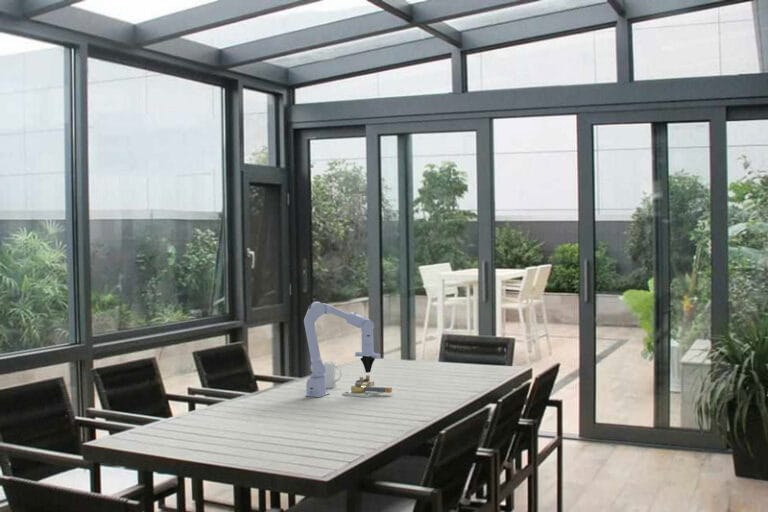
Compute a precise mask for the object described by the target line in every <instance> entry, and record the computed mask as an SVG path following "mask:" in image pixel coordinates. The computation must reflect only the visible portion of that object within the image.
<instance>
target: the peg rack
mask: <svg viewBox="0 0 768 512" xmlns="http://www.w3.org/2000/svg"><path fill="white" fill-rule="evenodd" d="M370 378H371V377H370V375H369V374H366V375H365V378H364V376H359V379H358V380H355V383H361V385H364V386H366V387H369V386H370V387H374V385H375V380H370Z"/></svg>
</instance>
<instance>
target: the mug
mask: <svg viewBox="0 0 768 512" xmlns="http://www.w3.org/2000/svg"><path fill="white" fill-rule="evenodd" d="M322 363H323V365H324V366H325V369H326V370H325V373H324V374H325V375H326V389H334V388H336V387H337V382H339V381H340V380H341V377H342V374H343V373H342V370H341V369H340V367H339V366H337V365H336V362H334V361H322ZM336 369H338V371H339V373H340V375H339V378H337V373H336Z"/></svg>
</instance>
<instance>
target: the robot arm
mask: <svg viewBox="0 0 768 512" xmlns="http://www.w3.org/2000/svg"><path fill="white" fill-rule="evenodd" d="M324 314H325V315H329V314H332V315H334V316H337V317H339V318H342V319H344V320H346V324H349V325H350V326H354V327H355V328H358V329H361V337H360V339H361V351H355V353H354V354H355V355H354V356H355V357H360V361H361V362H362V364H363V367H364V372H365V373H366V374H367V373H371V372H372V366H373V365H374V361H375V360H376V359H381V358H382V357H381V353H377V352H375V351H374V347H375V345H374V329H375V324H374V322H373V320H371V319H369V318H367V317H366V316H363V315H360V314H358V312H356V311H354V312H353V311H351V312H349V313H348V312H346V311H344V310H343V309H339V308H337V307H335V306H333V305H331V304H328V303H324V302H320V301H317V300H316V301H313V302H311V304H310V305H309V306H308V308H307V311H306V313H305V316H304V319H303V323H304V324H303V325H304V328H305V329H304V330H305V335H306V341H307V345H308V350H309V355H310V366H309V367H310V368H309V369H310V372H311V373H310V377H309V379H307V380H306V384H305V385H306V394H304V396H305V397H313V398H320V397H323V396H327V395H330V392H327V388H326V375H325V374H324V373H325V370H326V369H325V366H324V365H323V363H322V362H323V360H322V357H321V352H320V347H319V346H320V345H319V342H318V337H317V332H316V327H315V323H316V322H317V320H319V318H320V317H322V316H323V315H324Z"/></svg>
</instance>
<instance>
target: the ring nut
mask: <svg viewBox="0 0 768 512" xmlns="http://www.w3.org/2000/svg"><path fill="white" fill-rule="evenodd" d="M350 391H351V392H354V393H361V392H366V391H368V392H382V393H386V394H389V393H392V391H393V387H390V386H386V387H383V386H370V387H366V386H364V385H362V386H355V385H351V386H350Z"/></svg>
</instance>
